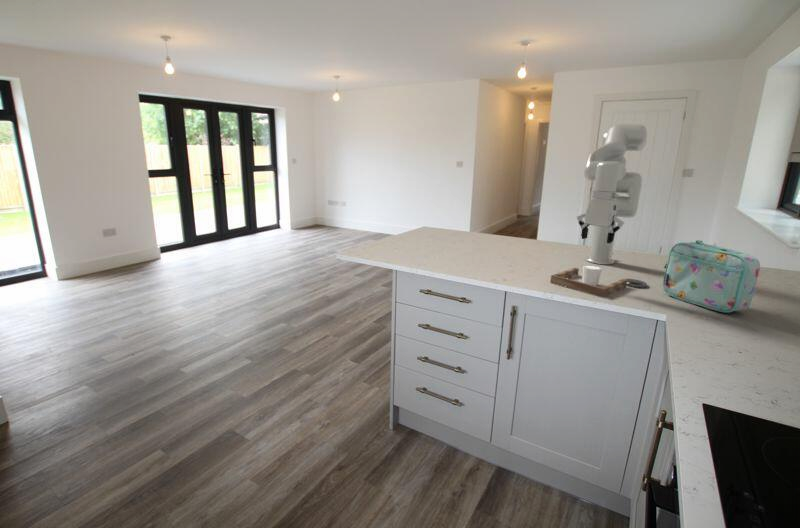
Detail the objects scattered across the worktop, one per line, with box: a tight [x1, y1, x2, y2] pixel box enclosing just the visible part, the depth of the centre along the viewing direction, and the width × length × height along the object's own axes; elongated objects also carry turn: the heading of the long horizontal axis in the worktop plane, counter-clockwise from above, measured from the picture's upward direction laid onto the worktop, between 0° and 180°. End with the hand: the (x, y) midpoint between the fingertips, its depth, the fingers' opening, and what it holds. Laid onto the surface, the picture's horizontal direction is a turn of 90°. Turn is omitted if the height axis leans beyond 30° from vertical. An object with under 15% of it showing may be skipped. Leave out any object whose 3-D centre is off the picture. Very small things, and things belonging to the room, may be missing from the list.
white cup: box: [581, 264, 603, 286], centre depth 160 cm, size 7×7×7 cm
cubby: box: [550, 267, 627, 298], centre depth 160 cm, size 20×21×3 cm
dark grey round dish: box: [625, 278, 648, 289], centre depth 162 cm, size 9×9×1 cm
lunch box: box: [662, 239, 761, 313], centre depth 140 cm, size 27×10×21 cm, turn 22°
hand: (596, 240), depth 156 cm, fingers open, 9 cm apart
